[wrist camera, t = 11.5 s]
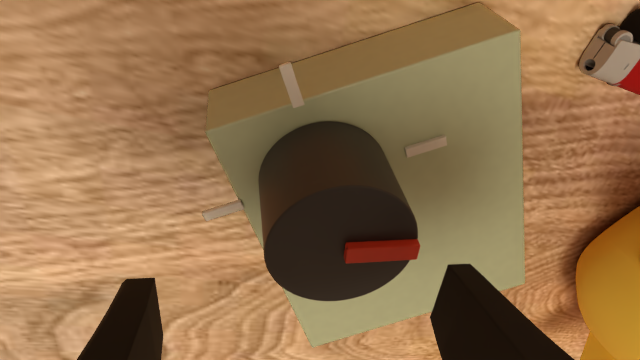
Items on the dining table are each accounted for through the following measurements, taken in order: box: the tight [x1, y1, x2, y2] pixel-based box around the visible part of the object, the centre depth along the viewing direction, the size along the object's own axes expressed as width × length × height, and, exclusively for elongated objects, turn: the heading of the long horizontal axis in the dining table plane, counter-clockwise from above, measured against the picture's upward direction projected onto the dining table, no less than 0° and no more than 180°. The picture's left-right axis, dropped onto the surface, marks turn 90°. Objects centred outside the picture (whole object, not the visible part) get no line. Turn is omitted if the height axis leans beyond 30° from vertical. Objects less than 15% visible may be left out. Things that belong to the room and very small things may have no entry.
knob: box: [258, 121, 420, 301], centre depth 15 cm, size 4×4×4 cm
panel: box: [202, 3, 525, 347], centre depth 19 cm, size 13×11×3 cm
